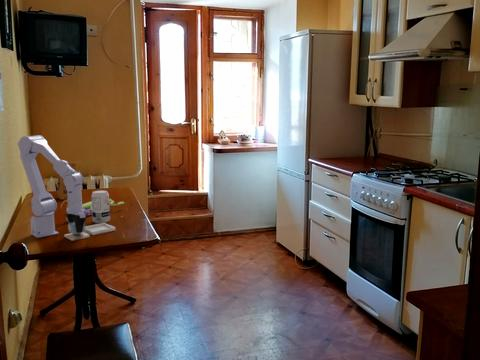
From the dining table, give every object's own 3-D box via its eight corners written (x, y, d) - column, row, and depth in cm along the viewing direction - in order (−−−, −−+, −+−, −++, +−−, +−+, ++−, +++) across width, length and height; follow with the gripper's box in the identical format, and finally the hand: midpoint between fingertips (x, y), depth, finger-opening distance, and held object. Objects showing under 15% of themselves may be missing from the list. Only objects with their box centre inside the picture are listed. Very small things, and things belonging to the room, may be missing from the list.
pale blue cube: (85, 231, 200) (84, 223, 199) (72, 234, 196) (71, 225, 195) (80, 229, 203) (79, 220, 203) (67, 231, 200) (66, 223, 199)
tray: (92, 235, 202) (92, 231, 202) (81, 230, 210) (81, 227, 210) (115, 230, 210) (115, 227, 210) (104, 225, 218) (103, 222, 217)
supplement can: (92, 220, 228) (90, 190, 226) (109, 218, 231) (108, 189, 228) (93, 224, 221) (91, 193, 218) (110, 222, 223) (109, 192, 221)
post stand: (72, 240, 194) (71, 229, 194) (64, 236, 200) (63, 225, 199) (89, 237, 200) (89, 225, 199) (82, 233, 206) (81, 222, 205)
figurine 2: (126, 211, 249) (126, 201, 248) (76, 217, 234) (76, 207, 233) (115, 204, 264) (114, 195, 263) (67, 210, 249) (66, 200, 248)
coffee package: (57, 197, 284) (54, 162, 280) (78, 195, 289) (76, 160, 285) (58, 200, 275) (56, 164, 271) (80, 198, 280) (78, 162, 277)
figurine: (61, 223, 222) (59, 199, 220) (62, 220, 228) (60, 196, 226) (79, 222, 225) (77, 198, 223) (79, 219, 230) (78, 195, 228)
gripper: (91, 201, 195) (92, 232, 197) (76, 196, 205) (78, 226, 208) (75, 204, 190) (77, 235, 192) (61, 199, 200) (63, 228, 203)
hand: (76, 230), depth 200 cm, fingers closed on pale blue cube, 5 cm apart
